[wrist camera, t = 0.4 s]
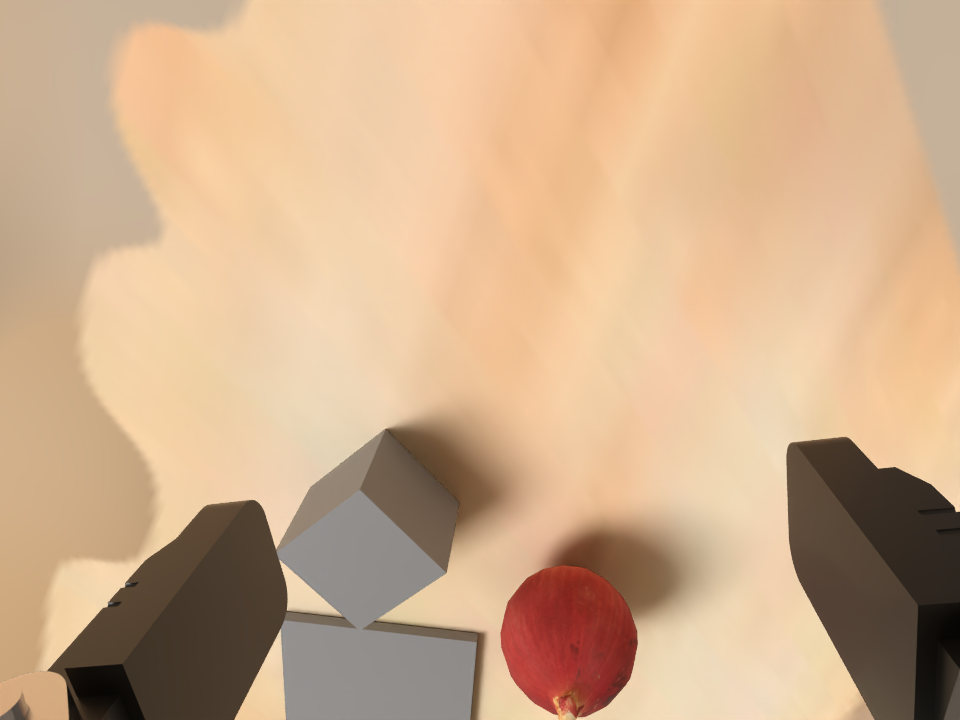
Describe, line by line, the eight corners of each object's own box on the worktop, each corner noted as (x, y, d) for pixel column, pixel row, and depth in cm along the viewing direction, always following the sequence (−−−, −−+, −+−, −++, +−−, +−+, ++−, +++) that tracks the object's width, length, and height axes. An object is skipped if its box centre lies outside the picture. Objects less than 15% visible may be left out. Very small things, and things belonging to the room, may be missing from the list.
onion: (650, 564, 33) (681, 707, 26) (584, 642, 35) (596, 794, 28) (544, 509, 32) (545, 640, 25) (484, 592, 35) (468, 735, 27)
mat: (284, 611, 36) (280, 620, 36) (477, 633, 36) (476, 642, 35) (291, 747, 40) (288, 757, 40) (466, 769, 40) (465, 779, 39)
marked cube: (310, 486, 33) (273, 554, 29) (386, 427, 32) (359, 489, 27) (387, 558, 34) (363, 634, 30) (463, 505, 33) (450, 576, 28)
